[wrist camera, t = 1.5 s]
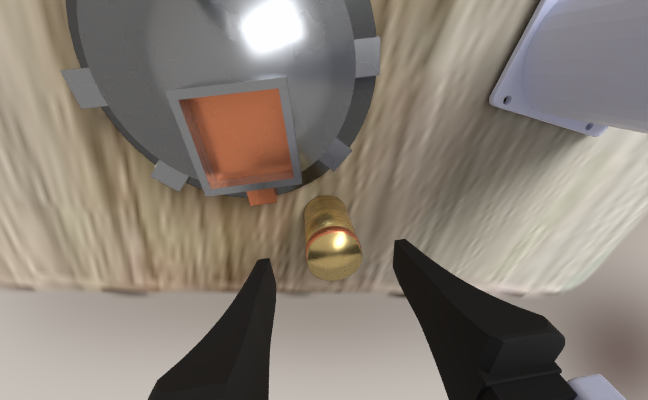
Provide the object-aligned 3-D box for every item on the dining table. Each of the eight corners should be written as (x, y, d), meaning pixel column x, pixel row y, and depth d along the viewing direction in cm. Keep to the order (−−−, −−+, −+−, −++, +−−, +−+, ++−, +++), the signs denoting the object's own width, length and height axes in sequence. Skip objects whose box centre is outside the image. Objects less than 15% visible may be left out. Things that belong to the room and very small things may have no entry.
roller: (352, 199, 18) (371, 242, 13) (340, 234, 19) (353, 283, 15) (308, 191, 17) (313, 233, 13) (299, 228, 19) (300, 278, 14)
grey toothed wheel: (411, -55, 11) (501, -148, 6) (330, 207, 17) (344, 262, 12) (33, -221, 8) (-357, -650, 3) (102, 169, 14) (5, 221, 9)
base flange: (421, -60, 11) (425, -64, 11) (334, 211, 18) (335, 214, 18) (25, -239, 8) (13, -252, 8) (100, 172, 15) (95, 174, 15)
